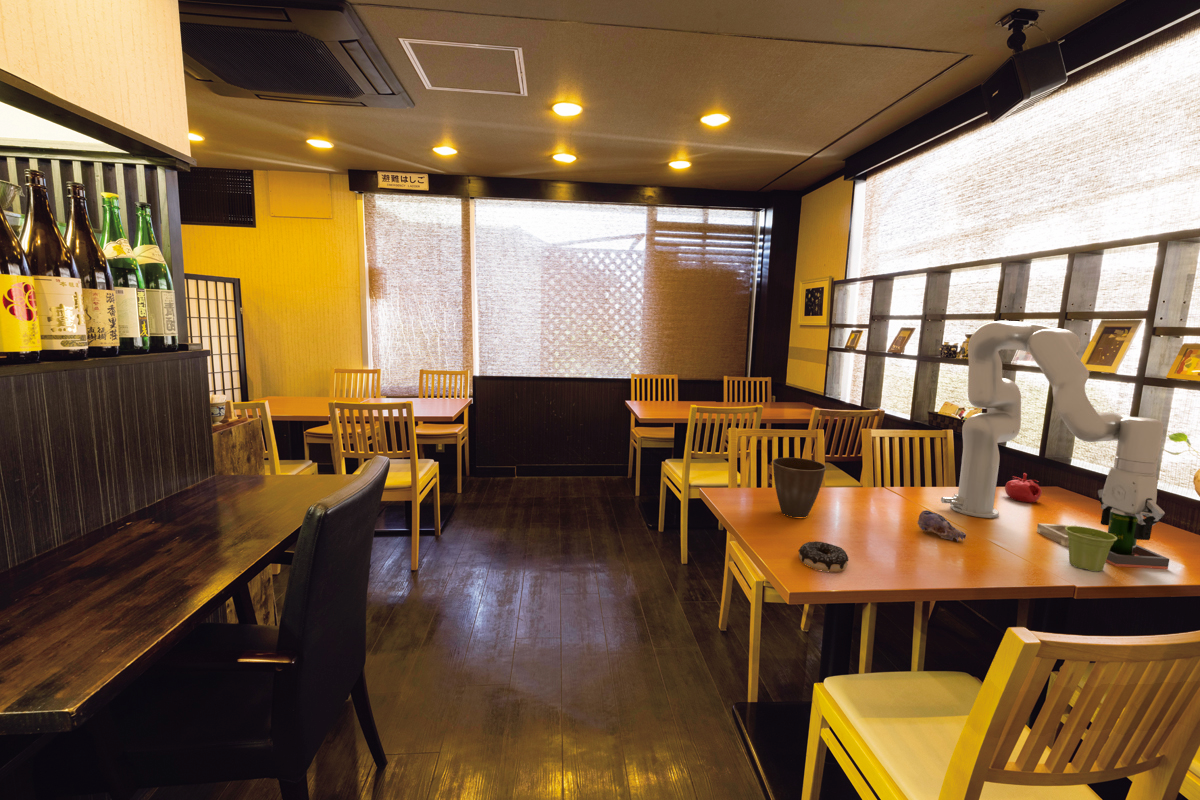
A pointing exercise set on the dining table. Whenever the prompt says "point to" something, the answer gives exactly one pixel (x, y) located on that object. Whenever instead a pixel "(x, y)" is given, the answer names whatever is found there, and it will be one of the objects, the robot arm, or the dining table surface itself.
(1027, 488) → the pomegranate
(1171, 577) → the dining table surface
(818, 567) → the donut
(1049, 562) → the dining table surface
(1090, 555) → the plant pot
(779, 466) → the plant pot
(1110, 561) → the lacquer tray
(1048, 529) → the cedar frame
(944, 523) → the skull
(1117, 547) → the beer can
